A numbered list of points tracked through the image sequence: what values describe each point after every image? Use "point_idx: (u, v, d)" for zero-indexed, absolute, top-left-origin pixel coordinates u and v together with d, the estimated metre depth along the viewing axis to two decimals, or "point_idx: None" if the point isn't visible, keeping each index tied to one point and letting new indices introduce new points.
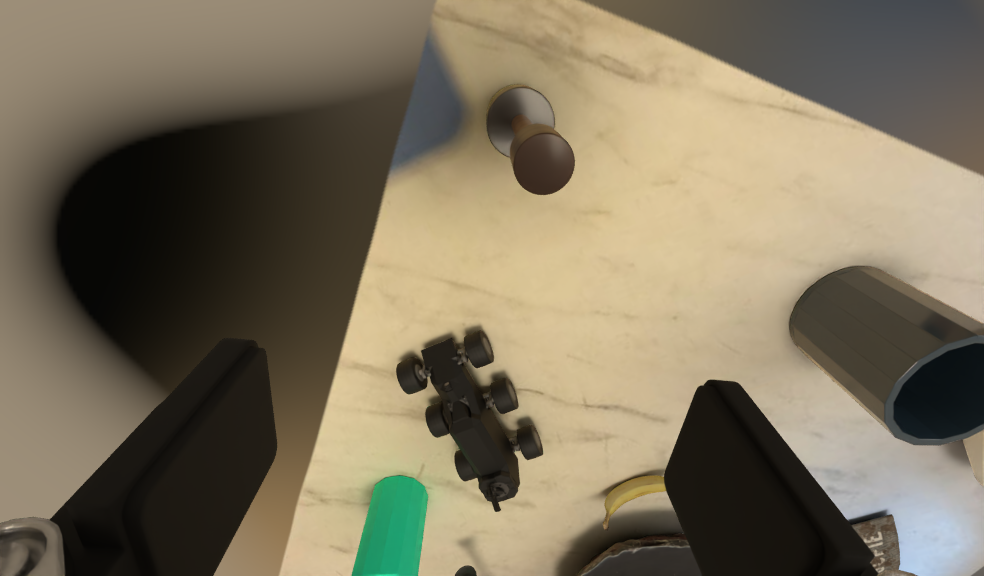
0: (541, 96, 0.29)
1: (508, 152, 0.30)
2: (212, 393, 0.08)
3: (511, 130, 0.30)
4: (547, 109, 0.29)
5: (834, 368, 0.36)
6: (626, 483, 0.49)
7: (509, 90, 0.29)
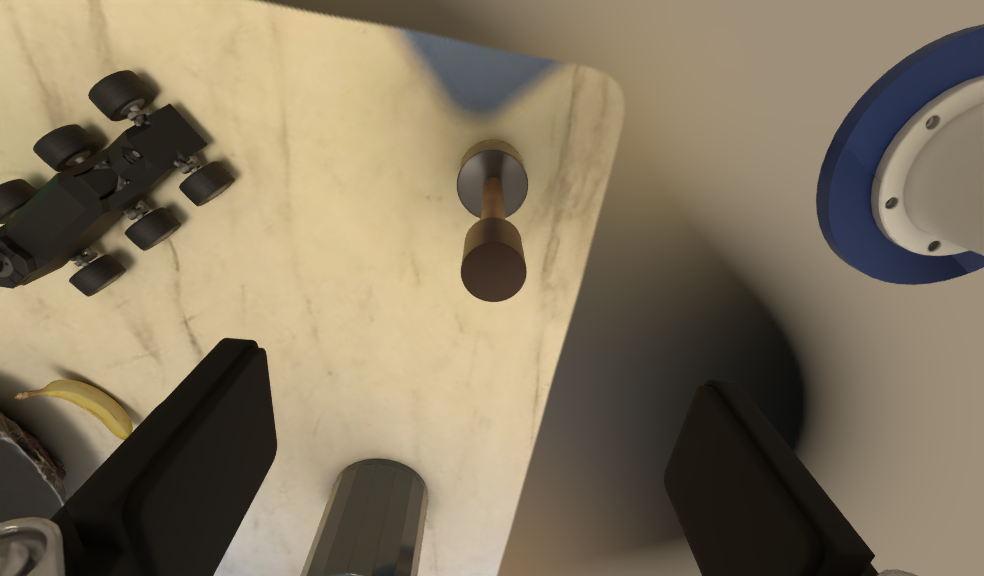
0: (522, 201, 0.29)
1: (462, 179, 0.28)
2: (212, 393, 0.08)
3: (484, 178, 0.28)
4: (511, 209, 0.29)
5: (335, 518, 0.39)
6: (99, 393, 0.40)
7: (522, 168, 0.28)
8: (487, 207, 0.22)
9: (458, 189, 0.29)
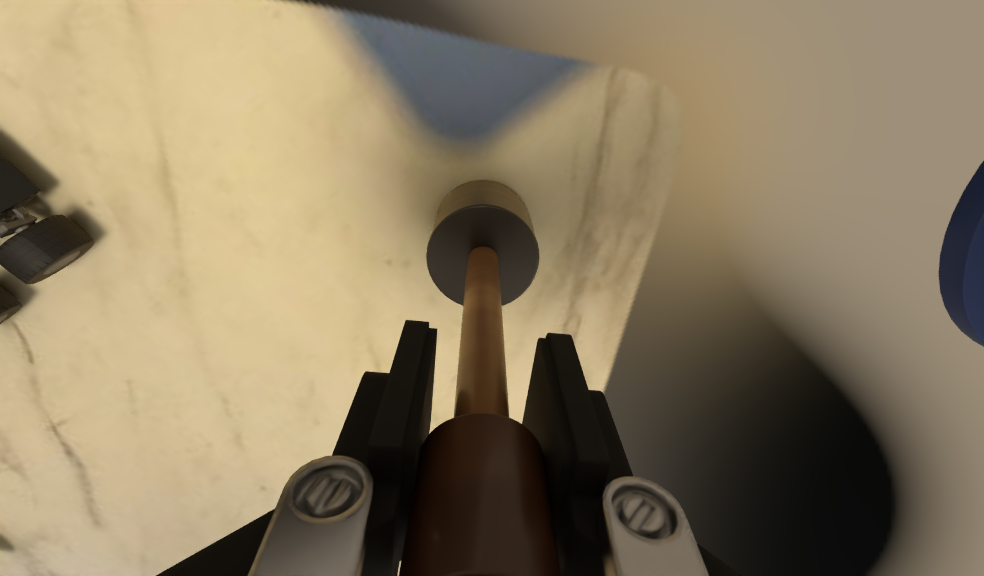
0: (529, 281, 0.18)
1: (434, 249, 0.18)
2: (421, 364, 0.09)
3: (470, 247, 0.18)
4: (512, 293, 0.19)
5: None
6: None
7: (531, 232, 0.18)
8: (471, 336, 0.12)
9: (429, 264, 0.18)
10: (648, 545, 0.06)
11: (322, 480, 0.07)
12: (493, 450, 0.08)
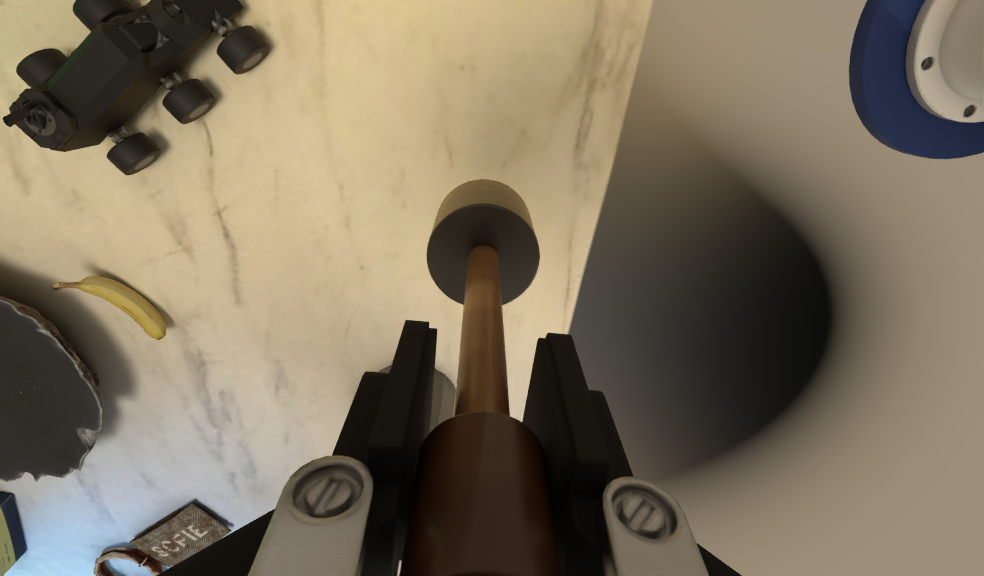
0: (529, 281, 0.18)
1: (434, 248, 0.18)
2: (421, 364, 0.09)
3: (470, 247, 0.18)
4: (513, 292, 0.19)
5: None
6: (133, 292, 0.40)
7: (531, 231, 0.18)
8: (472, 335, 0.12)
9: (429, 263, 0.18)
10: (648, 545, 0.06)
11: (322, 480, 0.07)
12: (494, 448, 0.08)
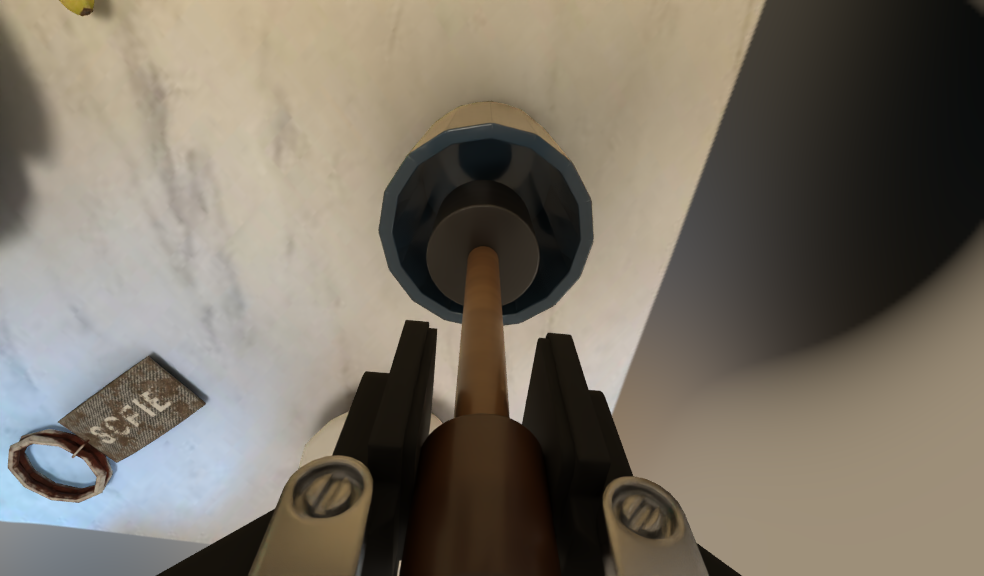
0: (529, 281, 0.18)
1: (434, 249, 0.18)
2: (421, 364, 0.09)
3: (470, 247, 0.18)
4: (512, 293, 0.19)
5: (440, 124, 0.23)
6: None
7: (531, 232, 0.17)
8: (471, 336, 0.12)
9: (429, 264, 0.18)
10: (649, 545, 0.06)
11: (322, 480, 0.07)
12: (493, 451, 0.08)
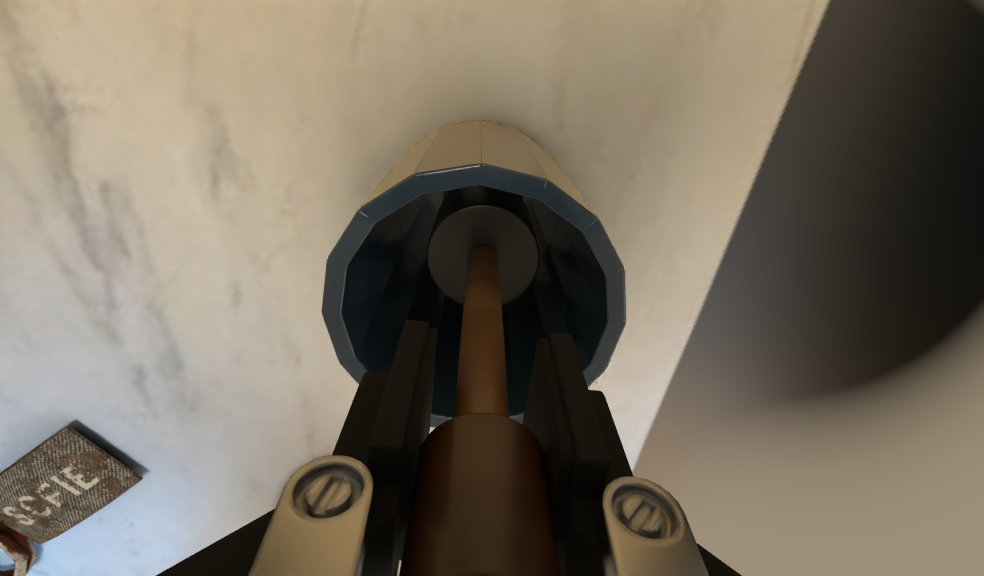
0: (529, 281, 0.18)
1: (434, 249, 0.18)
2: (421, 364, 0.09)
3: (470, 247, 0.18)
4: (513, 293, 0.19)
5: (413, 155, 0.17)
6: None
7: (531, 232, 0.17)
8: (471, 336, 0.12)
9: (429, 264, 0.18)
10: (649, 545, 0.06)
11: (322, 480, 0.07)
12: (493, 450, 0.08)
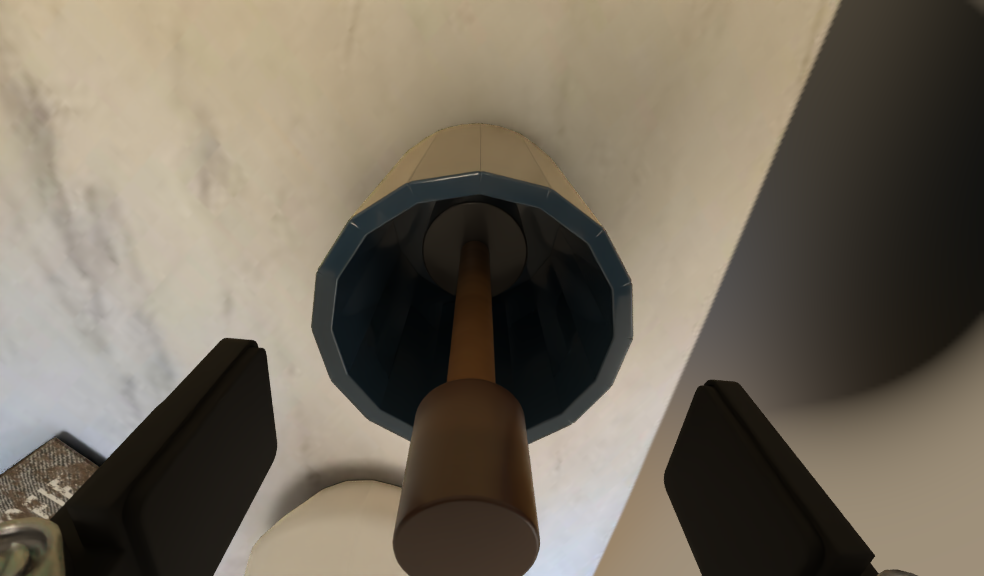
0: (518, 274, 0.20)
1: (429, 244, 0.19)
2: (212, 393, 0.08)
3: (463, 242, 0.19)
4: (503, 285, 0.20)
5: (409, 160, 0.16)
6: None
7: (519, 227, 0.19)
8: (463, 318, 0.13)
9: (424, 258, 0.19)
10: None
11: None
12: (479, 407, 0.09)
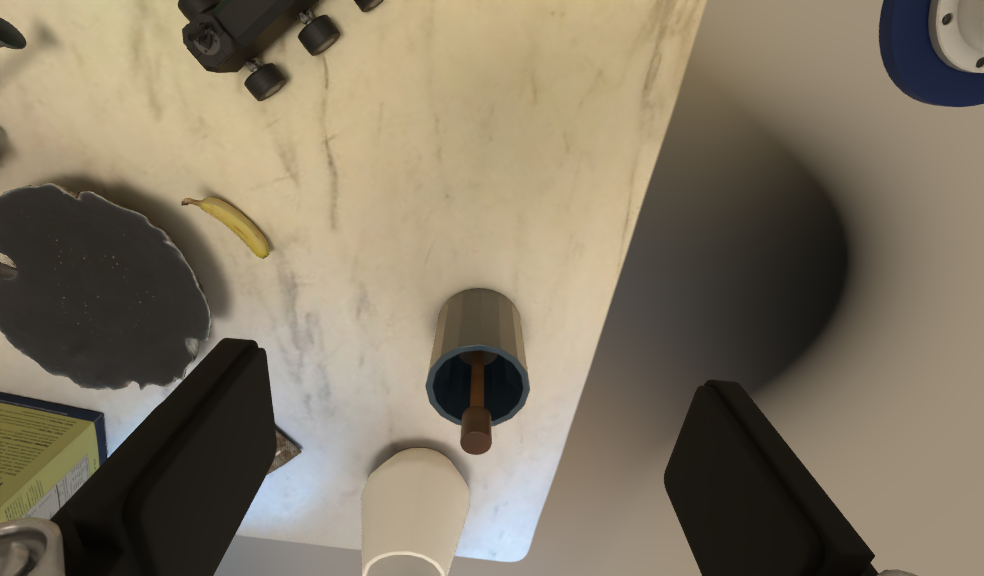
0: (496, 356, 0.48)
1: None
2: (212, 393, 0.08)
3: None
4: (489, 360, 0.48)
5: (454, 321, 0.44)
6: (242, 214, 0.45)
7: None
8: (474, 383, 0.41)
9: None
10: None
11: None
12: (479, 413, 0.37)
